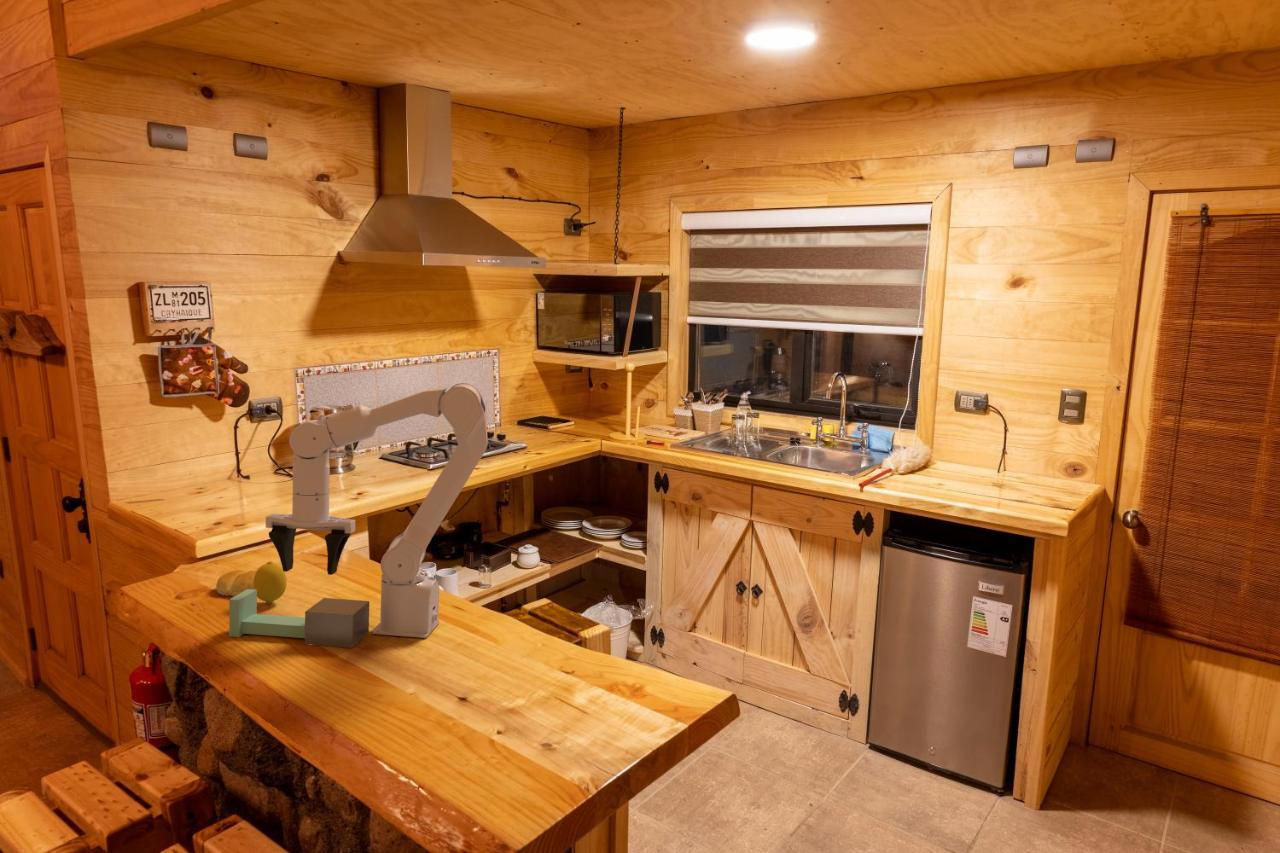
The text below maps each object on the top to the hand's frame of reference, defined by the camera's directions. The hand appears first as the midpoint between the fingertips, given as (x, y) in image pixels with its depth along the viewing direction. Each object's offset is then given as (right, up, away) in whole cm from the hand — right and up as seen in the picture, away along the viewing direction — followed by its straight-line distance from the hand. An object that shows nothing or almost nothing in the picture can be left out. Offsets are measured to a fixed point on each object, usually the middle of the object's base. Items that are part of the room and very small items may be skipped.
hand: (310, 571), depth 137 cm
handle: (-5, -10, -2) cm, 11 cm away
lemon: (-12, -8, +12) cm, 19 cm away
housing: (+5, -11, -3) cm, 12 cm away
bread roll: (-20, -7, +18) cm, 28 cm away
